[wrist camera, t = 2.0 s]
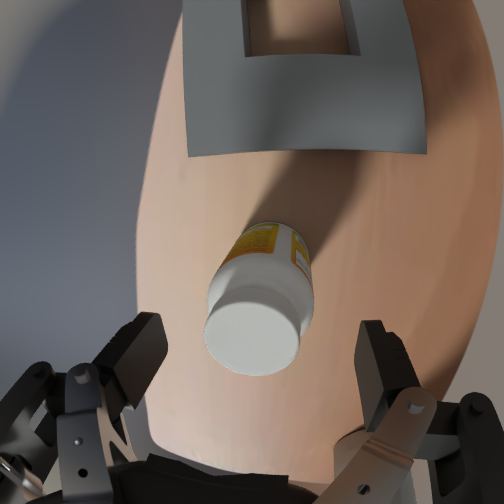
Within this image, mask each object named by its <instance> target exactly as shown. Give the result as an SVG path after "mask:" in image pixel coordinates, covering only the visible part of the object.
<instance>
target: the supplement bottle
mask: <svg viewBox="0 0 504 504" xmlns="http://www.w3.org/2000/svg"><path fill="white" fill-rule="evenodd" d="M207 307H208V313H209V317H208V319H207V321H206V324H205V328H204V339H205V343H206V346H207V348H208V350H209V352H210V353H211V355H212V356H213V357H214V358H215V359H216V360H217V361H218V362H219V363H221V364H222V365H223V366H225V367H226V368H228V369H230V370H232V371H234V372H237V373H241V374H244V375H252V376H262V375H269V374H273V373H276V372H278V371H280V370H282V369H284V368H285V367H287V366H288V365H289V364H290V363H291V362H292V361H293V360H294V358H295V357H296V355H297V353H298V349H299V345H300V337H301V336H302V335H303V334H304V333H305V331H306V330H307V328H308V327H309V325H310V322H311V320H312V317H313V311H314V293H313V284H312V275H311V266H310V258H309V252H308V249H307V246H306V244H305V242H304V240H303V239H302V237H301V236H300V235H299V234H298V233H297V232H296V231H295V230H293V229H292V228H290V227H288V226H286V225H284V224H281V223H275V222H265V223H260V224H256V225H254V226H252V227H250V228H249V229H247V230H246V231H245V232H244V233H243V234H242V235H241V236H240V237H239V238H238V240H237V241H236V243H235V244H234V246H233V247H232V249H231V250H230V252H229V254H228V255H227V257H226V258H225V260H224V261H223V263H222V264H221V266H220V267H219V269H218V270H217V272H216V274H215V275H214V277H213V279H212V281H211V283H210V286H209V289H208V294H207Z"/></svg>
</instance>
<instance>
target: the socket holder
mask: <svg viewBox="0 0 504 504" xmlns="http://www.w3.org/2000/svg"><path fill="white" fill-rule="evenodd" d="M339 2H340V6H341V11H342V16H343V21H344V26H345V31H346V37H347V43H348V49H349V55H339V54H282V55H266V56H254V57H251V45H250V33H249V21H248V9H247V0H183V78H184V101H185V119H186V134H187V147H188V157H198V156H210V155H220V154H231V153H244V152H259V151H280V150H362V151H382V152H396V153H409V154H427V143H426V124H425V111H424V101H423V93H422V85H421V78H420V72H419V66H418V60H417V55H416V50H415V45H414V41H413V36H412V32H411V28H410V24H409V20H408V17H407V13H406V10H405V7H404V3H403V0H339Z"/></svg>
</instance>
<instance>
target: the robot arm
mask: <svg viewBox="0 0 504 504" xmlns="http://www.w3.org/2000/svg"><path fill="white" fill-rule="evenodd" d="M167 352H168V342H167V338H166V334H165V331H164V327H163V323H162V319H161V316H160V314H158V313H151V312H140V313H139V314H138V315H137V317H136V318H135V319H134V320H133V321H132V322H129V323H128V324H126V325H124V326H123V327H121V328H120V330H119V331H118V332H117V333H116V334H115V337H113V338H112V339H111V340H110V342H109V343H107V345H106V346H105V347H104V348H103V350H102V351H101V352H100V353H99V354H98V355H97V357H96V358H95V359H94V360H93V361H92V363H80V364H78V365H76V366H73V367H72V368H71V369H70V370H69V371H68V372H67V373H56V372H54V370H53V368H52V366H51V365H50V364H49V363H48V362H44V361H41V362H37V363H35V364H33V365H31V366H30V367H29V368H28V369H27V370H26V371H25V373H24V374H23V375H22V376H21V377H20V378H19V380H18V381H17V382H16V383H15V384H14V386H13V387H12V388H11V389H10V390H9V391H8V393H7V394H6V395H5V396H4V398H3V399H2V400H1V401H0V504H417V502H416V496H415V489H414V484H413V478H412V473H411V467H412V465H413V462H414V461H413V459H426V460H427V461H428V468H429V474H430V482H431V489H432V499H433V504H504V431H503V428H502V426H501V423H500V421H499V418H498V415H497V413H496V411H495V408H494V406H493V404H492V402H491V400H490V399H489V398H488V397H487V396H486V395H484V394H481V393H477V392H472V393H468V394H466V395H465V396H464V397H463V398H462V399H461V401H460V403H450V402H440V401H436V398H435V396H434V395H433V394H432V393H431V392H430V391H428V390H427V389H424V388H421V386H420V383H419V381H418V378H417V376H416V373H415V371H414V368H413V366H412V363H411V361H410V359H409V356H408V354H407V351H406V349H405V347H404V344H403V342H402V340H401V339H400V338H399V337H398V336H397V335H396V334H395V333H394V332H386V331H385V328H384V326H383V323H382V321H381V320H363V321H361V323H360V328H359V333H358V338H357V343H356V348H355V354H354V365H355V371H356V376H357V382H358V387H359V393H360V398H361V404H362V411H363V417H364V424H365V429H363V430H360V431H357V432H354V433H352V434H350V435H348V436H346V437H344V438H343V439H341V440H340V441H339V442H338V443H337V444H336V445H335V447H334V450H333V451H334V481H333V482H332V483H331V484H330V486H329V487H328V488H327V489H326V490H325V491H324V492H323V493H322V494H321V495H320V496H318V495H316V494H315V493H313V492H311V491H309V490H307V489H305V488H303V487H299V486H297V485H293V484H290V483H288V477H289V475H268V474H255V473H249V474H239V475H223V476H213V475H209V474H207V473H204V472H202V471H200V470H197V469H195V468H193V467H191V466H189V465H187V464H185V463H182V462H181V461H177V460H172V459H169V458H165V457H161V456H158V455H154V454H151V453H150V454H149V456H148V458H147V460H146V461H137V459H136V457H135V455H134V453H133V451H132V448H131V444H130V440H129V437H128V433H127V429H126V425H125V421H124V417H123V415H122V413H121V412H122V410H123V408H127V409H130V410H135V409H136V407H137V406H138V404H139V402H140V400H141V399H142V397H143V395H144V393H145V392H146V390H147V388H148V387H149V385H150V383H151V381H152V380H153V378H154V376H155V374H156V373H157V371H158V369H159V367H160V366H161V364H162V362H163V361H164V359H165V357H166V355H167ZM41 404H42V405H43V406H44V407H45V409H46V410H47V411H48V412H47V414H46V415H45V416H44V418H43V419H42V421H41V422H40V424H39V425H38V427H37V428H36V430H35V431H34V432H33V430H32V429H31V427H30V420H31V418H32V416H33V414H34V413H35V412H36V410H37V409H38V408H39V406H40V405H41ZM57 458H59V469H60V476H61V477H60V478H61V485H62V490H59V491H57V492H54V493H51V494H48V495H46V493H45V492H44V491H43V487H42V485H43V484H44V482H45V480H46V478H47V476H48V474H49V472H50V470H51V468H52V467H53V465H54V463H55V461H56V459H57Z"/></svg>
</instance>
